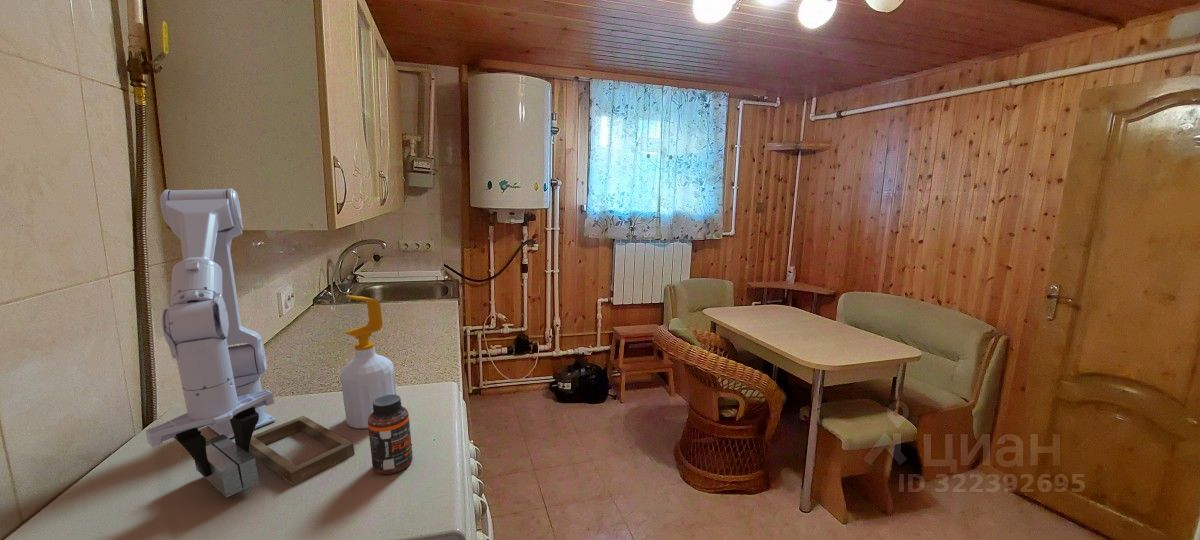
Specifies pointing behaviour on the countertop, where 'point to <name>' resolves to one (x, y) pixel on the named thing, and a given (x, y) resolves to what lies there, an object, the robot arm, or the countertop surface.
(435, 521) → the countertop surface
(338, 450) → the brown rectangular open frame
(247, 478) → the grooved grey block
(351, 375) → the soap bottle
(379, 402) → the supplement bottle
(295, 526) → the countertop surface
